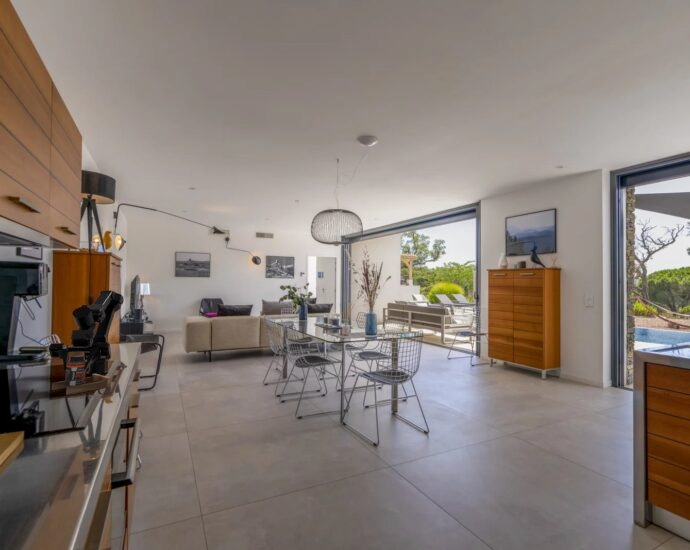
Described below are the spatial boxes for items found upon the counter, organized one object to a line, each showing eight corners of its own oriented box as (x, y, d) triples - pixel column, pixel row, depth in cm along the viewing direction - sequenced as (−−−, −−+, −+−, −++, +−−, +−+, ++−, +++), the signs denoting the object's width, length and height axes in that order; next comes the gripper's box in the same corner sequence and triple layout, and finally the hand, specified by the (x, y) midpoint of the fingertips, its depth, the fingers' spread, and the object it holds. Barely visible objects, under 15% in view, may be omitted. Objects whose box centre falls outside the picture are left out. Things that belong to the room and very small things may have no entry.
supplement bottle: (76, 389, 130) (78, 357, 130) (60, 388, 130) (62, 356, 131) (88, 384, 136) (91, 354, 136) (73, 384, 136) (75, 353, 137)
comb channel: (51, 390, 131) (52, 380, 131) (94, 382, 144) (95, 373, 144) (66, 395, 126) (67, 384, 126) (109, 386, 139) (110, 377, 139)
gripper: (52, 321, 134) (38, 357, 123) (111, 321, 141) (103, 355, 131) (57, 339, 141) (44, 375, 130) (114, 339, 148) (106, 372, 138)
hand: (75, 369), depth 132 cm, fingers closed on supplement bottle, 6 cm apart
